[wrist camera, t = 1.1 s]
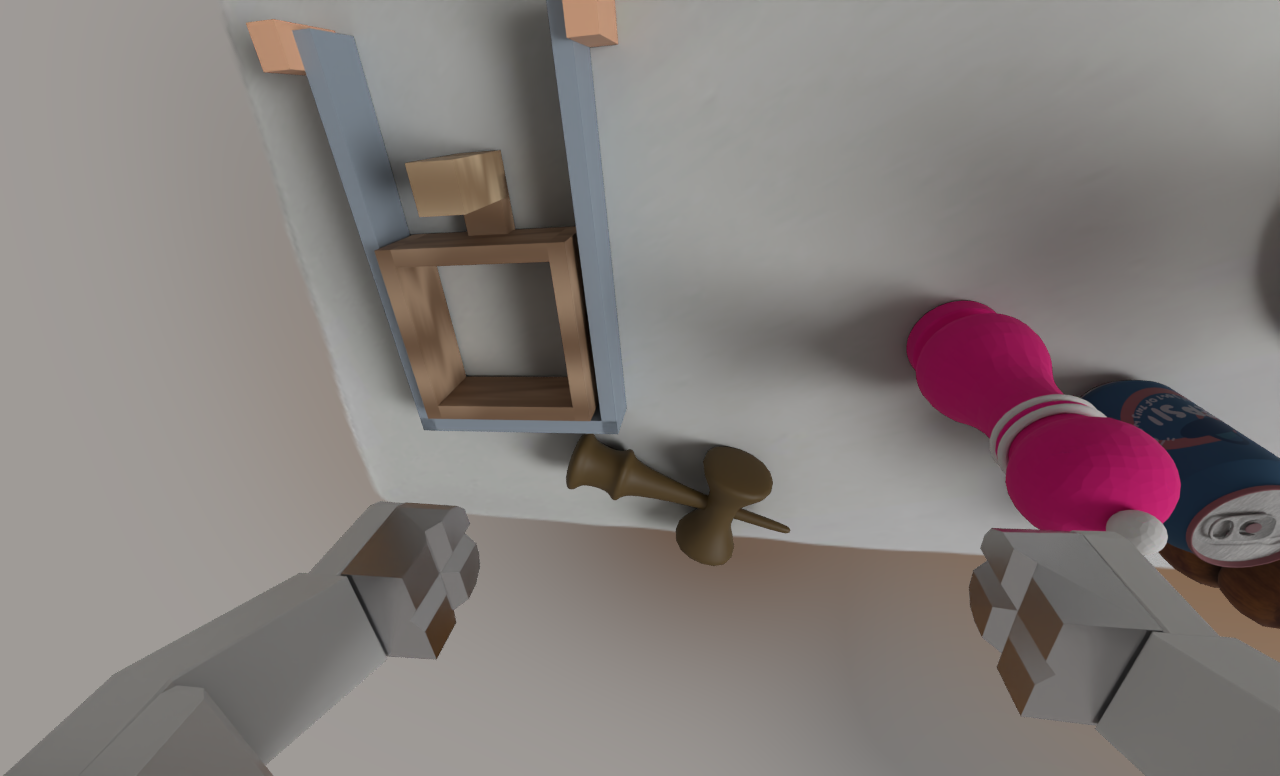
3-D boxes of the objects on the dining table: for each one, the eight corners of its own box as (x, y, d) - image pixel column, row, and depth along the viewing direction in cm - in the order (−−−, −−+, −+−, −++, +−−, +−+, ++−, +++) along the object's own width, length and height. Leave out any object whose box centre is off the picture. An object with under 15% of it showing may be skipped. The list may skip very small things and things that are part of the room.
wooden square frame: (392, 158, 36) (325, 169, 30) (573, 144, 34) (540, 152, 28) (456, 388, 45) (415, 432, 39) (604, 389, 43) (583, 436, 37)
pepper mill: (894, 387, 39) (1025, 609, 22) (903, 297, 36) (1067, 476, 19) (998, 382, 38) (1227, 615, 21) (1018, 288, 34) (1312, 472, 17)
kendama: (592, 395, 44) (810, 468, 44) (571, 474, 50) (767, 541, 49) (572, 434, 39) (818, 517, 39) (551, 518, 44) (769, 593, 44)
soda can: (1177, 364, 35) (1365, 472, 25) (1157, 446, 38) (1317, 572, 28) (1062, 380, 37) (1192, 486, 27) (1051, 456, 40) (1164, 579, 30)
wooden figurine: (1148, 451, 39) (1360, 625, 26) (1232, 460, 38) (1493, 644, 25) (1104, 517, 42) (1272, 701, 29) (1181, 527, 41) (1388, 719, 28)
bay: (310, 34, 33) (245, 22, 29) (614, -5, 30) (594, -24, 26) (428, 405, 47) (396, 437, 42) (647, 408, 43) (638, 443, 39)
